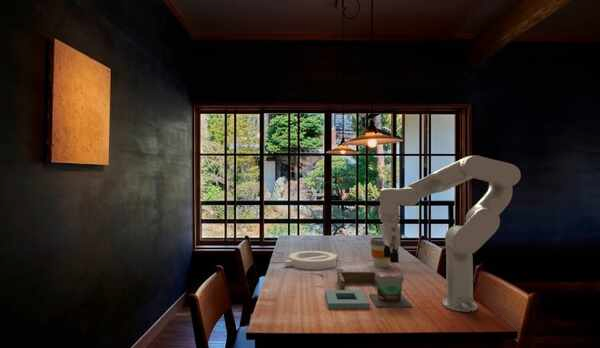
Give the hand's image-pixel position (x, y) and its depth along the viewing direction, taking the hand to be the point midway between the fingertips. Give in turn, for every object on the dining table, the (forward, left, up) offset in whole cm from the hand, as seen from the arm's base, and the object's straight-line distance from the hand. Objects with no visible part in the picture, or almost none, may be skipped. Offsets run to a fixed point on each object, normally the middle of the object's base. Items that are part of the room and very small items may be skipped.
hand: (391, 259), depth 143 cm
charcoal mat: (0, +1, -17) cm, 17 cm away
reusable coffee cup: (+59, -10, -17) cm, 62 cm away
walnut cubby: (+18, +10, -17) cm, 27 cm away
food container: (-1, 0, -17) cm, 17 cm away
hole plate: (0, +19, -17) cm, 25 cm away
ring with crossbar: (+64, +29, -18) cm, 73 cm away
